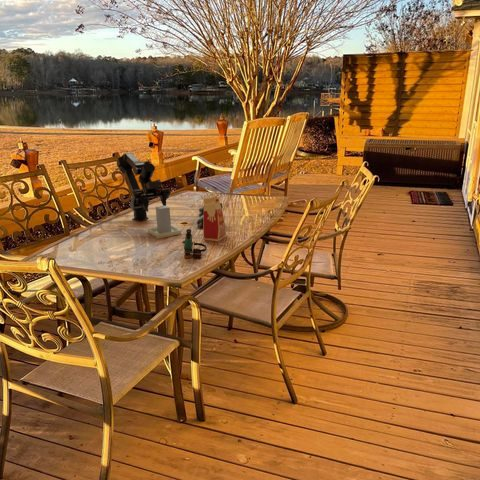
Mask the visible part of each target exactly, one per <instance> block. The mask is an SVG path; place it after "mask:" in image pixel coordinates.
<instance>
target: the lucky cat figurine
mask: <svg viewBox="0 0 480 480" xmlns="http://www.w3.org/2000/svg"><path fill="white" fill-rule="evenodd" d="M220 205H221V208H222V209H223V203H222V202H220ZM198 211H199V213H198V219H197V221H196V225H197V227H198V228H200V227H203V215H204V205H203V206H201V207H200V208H199V209H198Z"/></svg>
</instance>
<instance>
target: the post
mask: <svg viewBox="0 0 480 480" xmlns="http://www.w3.org/2000/svg"><path fill="white" fill-rule="evenodd" d="M170 209H171V207H170V206H167V205H166V206H163V205H162V206H161V205H160V206H155V214H156V216H155V217H156V227H157V229H158V233H160V234H161V233H166V232H171V225H172V223H171V210H170Z"/></svg>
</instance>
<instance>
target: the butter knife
mask: <svg viewBox="0 0 480 480" xmlns="http://www.w3.org/2000/svg"><path fill="white" fill-rule="evenodd" d="M180 252H181V251H180V249H179V250H178V249H177V250H175V251H172V252H171V253H170V254H169V255H167V257H166V258H164V259H165V260H166V261H168V260H169V259H170V258H172V257H174V256H175V255H177V254H179V253H180Z"/></svg>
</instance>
